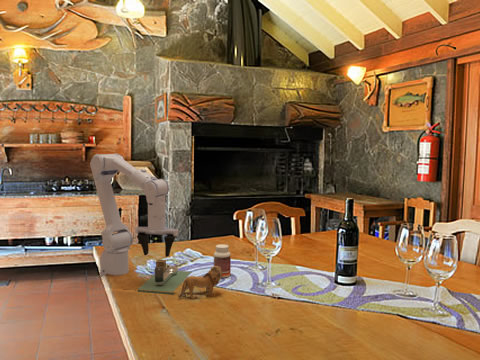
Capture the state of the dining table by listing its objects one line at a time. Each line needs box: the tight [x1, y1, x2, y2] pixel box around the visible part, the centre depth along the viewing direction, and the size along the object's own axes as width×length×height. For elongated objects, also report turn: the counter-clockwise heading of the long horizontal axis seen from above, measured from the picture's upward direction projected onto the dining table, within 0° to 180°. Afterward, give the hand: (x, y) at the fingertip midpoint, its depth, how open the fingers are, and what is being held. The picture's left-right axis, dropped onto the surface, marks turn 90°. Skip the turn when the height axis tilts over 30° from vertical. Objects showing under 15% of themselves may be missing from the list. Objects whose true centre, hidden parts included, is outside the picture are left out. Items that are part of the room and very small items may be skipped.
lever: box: [154, 265, 179, 285], centre depth 153 cm, size 4×18×6 cm, turn 170°
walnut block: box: [155, 259, 167, 273], centre depth 161 cm, size 3×3×4 cm
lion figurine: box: [177, 265, 222, 300], centre depth 139 cm, size 15×5×9 cm, turn 116°
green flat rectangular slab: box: [137, 270, 192, 296], centre depth 152 cm, size 12×21×1 cm, turn 169°
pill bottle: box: [213, 244, 232, 279], centre depth 159 cm, size 6×6×11 cm
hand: (156, 255), depth 148 cm, fingers open, 7 cm apart
